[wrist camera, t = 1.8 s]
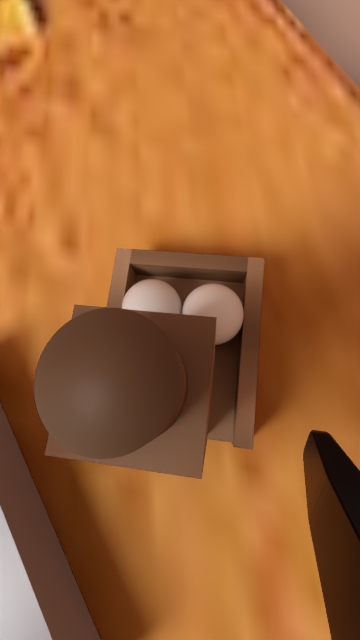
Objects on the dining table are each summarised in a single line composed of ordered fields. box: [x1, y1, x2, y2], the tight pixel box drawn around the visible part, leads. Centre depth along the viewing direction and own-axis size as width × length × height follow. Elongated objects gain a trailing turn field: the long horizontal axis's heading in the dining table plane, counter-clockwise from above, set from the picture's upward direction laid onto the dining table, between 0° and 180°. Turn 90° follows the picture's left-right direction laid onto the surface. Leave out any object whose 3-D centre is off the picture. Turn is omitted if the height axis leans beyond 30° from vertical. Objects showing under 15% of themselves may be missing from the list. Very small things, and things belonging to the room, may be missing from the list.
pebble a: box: [182, 283, 244, 345], centre depth 16 cm, size 3×3×3 cm
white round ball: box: [122, 279, 182, 314], centre depth 16 cm, size 3×3×3 cm
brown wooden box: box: [34, 248, 264, 479], centre depth 12 cm, size 9×8×12 cm
